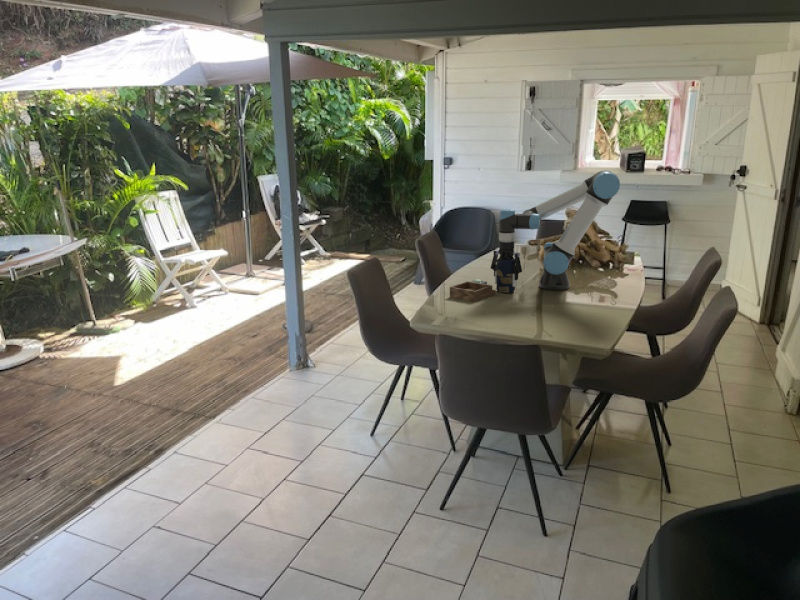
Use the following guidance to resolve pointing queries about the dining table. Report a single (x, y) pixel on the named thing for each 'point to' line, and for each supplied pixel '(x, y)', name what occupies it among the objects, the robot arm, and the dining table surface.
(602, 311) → the dining table surface
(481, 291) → the wooden tray
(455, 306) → the dining table surface
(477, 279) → the button
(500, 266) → the canister
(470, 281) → the button console
